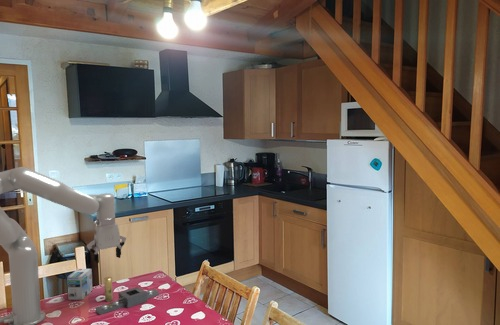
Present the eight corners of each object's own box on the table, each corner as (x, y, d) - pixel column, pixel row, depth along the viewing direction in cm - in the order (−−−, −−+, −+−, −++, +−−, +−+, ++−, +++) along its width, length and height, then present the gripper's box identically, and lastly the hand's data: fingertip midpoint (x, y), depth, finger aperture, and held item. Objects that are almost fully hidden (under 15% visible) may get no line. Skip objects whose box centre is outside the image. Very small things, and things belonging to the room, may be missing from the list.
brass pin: (107, 302, 164) (105, 280, 163) (104, 300, 167) (103, 278, 166) (114, 300, 166) (113, 278, 166) (111, 297, 169) (110, 276, 168)
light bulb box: (82, 300, 167) (81, 276, 166) (67, 300, 167) (66, 276, 167) (93, 290, 178) (92, 268, 177) (79, 290, 178) (78, 268, 177)
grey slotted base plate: (102, 316, 151) (101, 307, 151) (93, 309, 157) (93, 300, 157) (161, 296, 169) (161, 287, 169) (151, 290, 176) (151, 282, 176)
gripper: (89, 226, 156) (91, 266, 157) (128, 219, 168) (130, 257, 169) (82, 223, 161) (84, 262, 162) (121, 217, 173) (122, 253, 174)
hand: (107, 259), depth 165 cm, fingers open, 9 cm apart
